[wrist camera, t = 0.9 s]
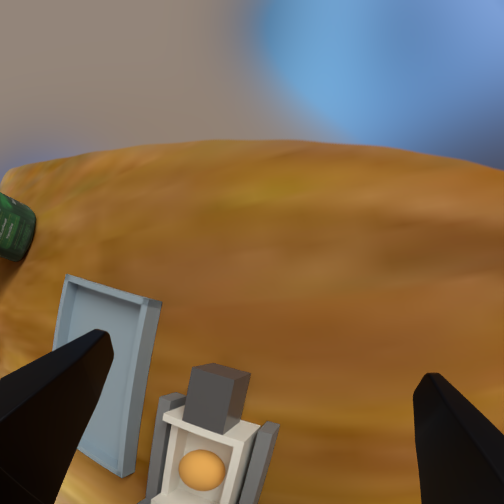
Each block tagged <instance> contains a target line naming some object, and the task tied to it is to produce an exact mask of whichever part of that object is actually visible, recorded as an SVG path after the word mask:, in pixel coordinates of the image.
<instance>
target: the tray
mask: <svg viewBox="0 0 504 504" xmlns="http://www.w3.org/2000/svg"><path fill="white" fill-rule="evenodd" d="M161 306H162V302H161V301H157V300H154V299H150V298H146V297H143V296H139V295H136V294H132V293H129V292H125V291H122V290H118V289H115V288H112V287H108V286H105V285H102V284H99V283H95V282H92V281H89V280H86V279H83V278H79V277H76V276H72V275H68V274H66V277H65V281H64V286H63V290H62V295H61V300H60V305H59V311H58V316H57V322H56V329H55V335H54V342H53V350H52V351H54V350H55V349H57V348H59V347H61V346H63V345H65V344H67V343H69V342H71V341H72V340H74V339H76V338H78V337H80V336H82V335H84V334H86V333H88V332H90V331H91V330H93V329H100V330H104V331H107V332H108V333H109V334H110V337H111V342H112V346H113V350H114V359H113V362H112V365H111V368H110V370H109V373H108V376H107V379H106V382H105V384H104V387H103V390H102V393H101V396H100V399H99V401H98V404H97V406H96V408H95V410H94V412H93V414H92V416H91V419H90V421H89V423H88V425H87V427H86V429H85V432H84V434H83V436H82V438H81V440H80V443H79V445H78V447H77V449H78V450H80V451H81V452H82V453H84V454H85V455H87V456H88V457H90V458H91V459H93V460H94V461H96V462H97V463H99V464H100V465H102V466H103V467H105V468H106V469H108V470H109V471H111V472H113V473H114V474H116V475H118V476H119V477H121V478H123V477H125V476H127V475H129V474H131V473H133V472H135V464H136V455H137V446H138V438H139V430H140V423H141V416H142V409H143V403H144V396H145V390H146V384H147V378H148V372H149V366H150V361H151V355H152V350H153V345H154V340H155V335H156V330H157V325H158V320H159V315H160V310H161Z"/></svg>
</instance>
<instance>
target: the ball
mask: <svg viewBox="0 0 504 504" xmlns="http://www.w3.org/2000/svg"><path fill="white" fill-rule="evenodd" d="M178 470H179V475H180V478H181V479H182V481H183V482H184V483H185V484H186V485H187V486H188V487H190V488H192V489H194V490H198V491H209V490H212V489H215V488H216V487H218V486H219V485H220V484H221V483H222V482H223V480H224V477H225V466H224V463H223V461H222V460H221V458H220V457H219V456H217V455H216V454H215V453H213V452H211V451H208V450H193V451H191V452H189V453H187V454H186V455H184V457H183V458H182V459H181V461H180V463H179V468H178Z"/></svg>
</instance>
